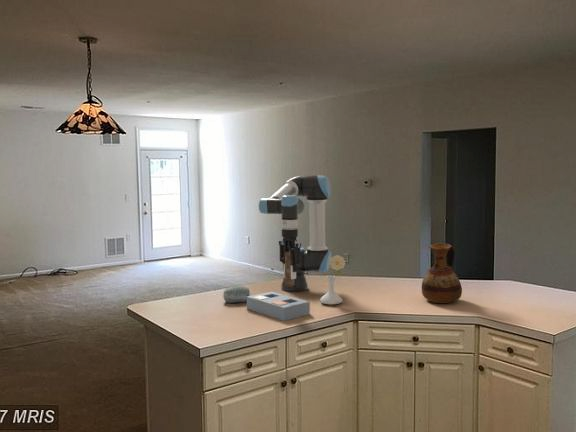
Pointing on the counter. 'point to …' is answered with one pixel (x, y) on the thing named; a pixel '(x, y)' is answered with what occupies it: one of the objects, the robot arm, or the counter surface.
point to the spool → (236, 294)
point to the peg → (288, 270)
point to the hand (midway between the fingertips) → (289, 277)
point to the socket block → (278, 305)
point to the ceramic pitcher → (442, 276)
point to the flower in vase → (331, 296)
